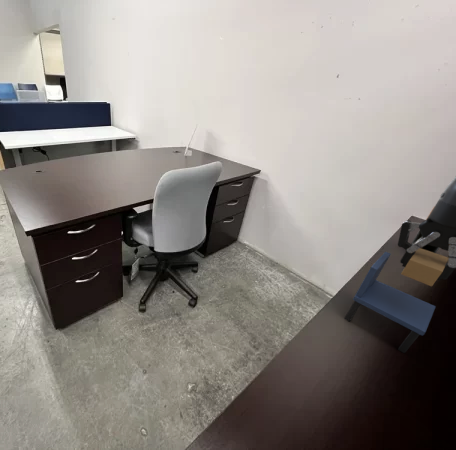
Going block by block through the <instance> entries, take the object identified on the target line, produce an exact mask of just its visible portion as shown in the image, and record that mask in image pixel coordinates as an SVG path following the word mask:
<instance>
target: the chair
mask: <svg viewBox="0 0 456 450" xmlns="http://www.w3.org/2000/svg"><path fill="white" fill-rule="evenodd" d="M391 255H392V253H390V252H389V251H388V252H387V251H384V252H383V254H382V255H381V256H380V257H378V259H377V260H376V261H375V262H374V263H373V264H372V266H371V267H370V268H369V270H368V272H367V273H366V275H365V277H364V279H363V281H362V282H361V284H360V286H359V288H358V289H357V291H356V293H355V295H354V296H353V297H352V300H353V302H352V304H351V306H350V308H349V310H348V311H347V313H346V315H345V317H344V320H345V321H346V322H349V323H350V322H351V321H352V320H353V317H354V316H355V314H356V313H357V310H358V309H359V307H360V306H361V305H362V306H364V307H366V308H368V309H370V310H372V311H374V312H375V313H378V314H380V315H381V316H383V317H385V318H387V319H389V320H390V321H392V322H394V323H397V324H399V325H401V326H403V327H404V328H406V329H407V330H410V332H409V334H408V335H407V336H406V337H405V338H404V340H403V341H402V342H401V344H400V345H399V347H398V348H397V350H398V351H400V352H401V353H403V354H405V353H407V351H408V350H409V349H410V347H411V346H412V345H413V344H414V342H415V341H416V340H417V339H418V337H419V336H424V335H426V332H427V329H428V327H429V324H430V322H431V320H432V317H433V315H434V312H435V309H436V307H437V306H436V305H434V304H431V303H429V302H426V301H424V300H422V299H420V298H417V297H415V296H413V295H411V294H409V293H406V292H404V291H402V290H400V289H398V288H396V287H393V286H390V285H389V284H386V283H383V282H382V281H379V280H377V279H378V277H379V275H380V274H381V272H382V270H383V268H384V267H385V265H386V263H387V262H388V260H389V259H390V257H391Z"/></svg>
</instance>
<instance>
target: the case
mask: <svg viewBox="0 0 456 450" xmlns="http://www.w3.org/2000/svg"><path fill="white" fill-rule="evenodd" d="M446 263H448V256H445V255H443V254H439V253H437V252H436V253H433V252H430V251H427V250H424V249H421V248H420V249H418V250H417V251H416V252H415V254H414V255H413V256H412V258H411V259H410V260H409V262H408V264H407V265H406V267H403V270H402V271H401V273H400V275H402V276H404V277H406V278H409V279H412V280H414V281H417V282H419V283H422V284H424V285H426V286H430V287H433V286H434V284H435V283H436V281H438V280H437V279H438V277H439V276H440V275H441V273H442V272H443V270H444V268H445V265H446Z"/></svg>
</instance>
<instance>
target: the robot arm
mask: <svg viewBox="0 0 456 450" xmlns="http://www.w3.org/2000/svg"><path fill="white" fill-rule="evenodd" d="M434 206H435V207H434ZM434 206H433V207H434V208H433V207H432V209H433V210H432V209H431V211H432V212H431V211H430V212H431V213H430V212H429V214H430V215H429V214H428V215H429V216H428V215H427V217H428V218H427V217H426V218H425V220H423V221H421V222H415V221H411V220H410V219H406V220H404V221H403V222H402V224H401V226H400V231H399V237H398V242H397V246H398V247H399V248H402V249H404V250H405V252H404V254H403V256H402V257H401V259H400V261H399V262H400V264H402V265H401V267H403V268H405V267H406V265H407V264H408V262H409V260H410V259H411V258H412V256H413V255H414V254H415V251H416V250H418V249H420V248H422V247H423V246H425V245H426V244H427V245H431V246H436V247H439V249H441V250H443V251H446V252H447V253H448V254H447V257H448V261H447V263H446V265H445V268H444V270H443V272H442V273H441V275H440V276H439V277H438V279H437V280H436V281H441V280H444V281H445V280H447V279H449V277H450V276H451V275H452V273H453V272H454V271H455V270H456V175H455V176H454V178H453V179H451V181H450V182H449V183H448V185H447V186H446V187H445V189H444V191H443V192H442V193H441V194H440V197H439V199H438V200H437V202H436V203H435V205H434ZM416 229H419V230H420V232H421V234H422V238H420V239H419V240H418V241H416V242H415V243H413V244H411V243H410V242H409V238H410V234H411V232H412V233H413V232H414V231H415V230H416Z"/></svg>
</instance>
